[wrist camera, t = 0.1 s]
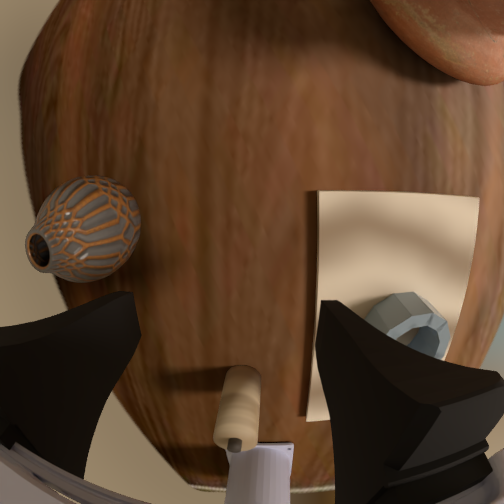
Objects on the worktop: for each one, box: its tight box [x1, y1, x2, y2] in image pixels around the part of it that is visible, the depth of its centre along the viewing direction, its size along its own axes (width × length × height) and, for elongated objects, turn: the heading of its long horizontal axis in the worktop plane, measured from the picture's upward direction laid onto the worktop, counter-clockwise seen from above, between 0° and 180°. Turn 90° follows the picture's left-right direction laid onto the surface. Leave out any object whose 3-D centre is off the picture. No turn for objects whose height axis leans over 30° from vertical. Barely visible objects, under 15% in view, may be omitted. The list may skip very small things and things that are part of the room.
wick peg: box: [213, 365, 261, 453], centre depth 20 cm, size 3×3×8 cm
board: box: [306, 190, 479, 422], centre depth 21 cm, size 22×14×1 cm, turn 3°
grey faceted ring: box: [364, 292, 451, 360], centre depth 19 cm, size 7×7×4 cm
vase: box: [25, 175, 141, 283], centre depth 15 cm, size 7×7×9 cm
